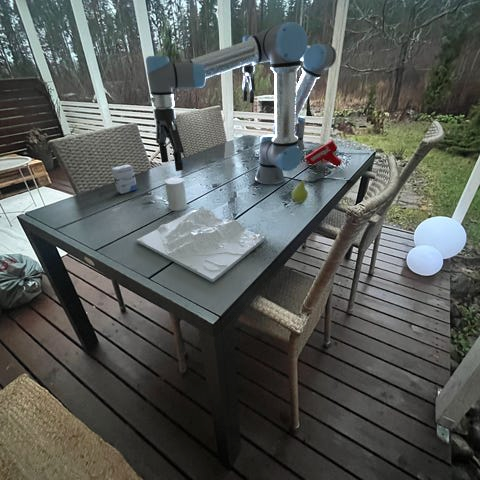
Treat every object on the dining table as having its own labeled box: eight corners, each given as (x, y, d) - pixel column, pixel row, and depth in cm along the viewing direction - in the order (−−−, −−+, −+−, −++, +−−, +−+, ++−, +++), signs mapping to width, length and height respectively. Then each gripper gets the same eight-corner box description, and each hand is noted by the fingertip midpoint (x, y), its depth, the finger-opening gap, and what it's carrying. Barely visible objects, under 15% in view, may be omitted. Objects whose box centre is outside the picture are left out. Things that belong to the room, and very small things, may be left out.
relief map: (212, 282, 77) (211, 268, 74) (137, 242, 94) (134, 229, 91) (264, 240, 95) (265, 227, 92) (193, 213, 113) (192, 201, 110)
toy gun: (345, 161, 161) (332, 139, 157) (345, 163, 157) (332, 140, 153) (317, 176, 171) (305, 156, 167) (317, 178, 167) (304, 158, 163)
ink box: (133, 186, 138) (127, 163, 132) (137, 189, 135) (132, 165, 129) (116, 191, 133) (110, 167, 127) (121, 194, 130) (114, 170, 124)
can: (166, 206, 119) (162, 179, 113) (182, 201, 123) (179, 176, 116) (173, 212, 114) (168, 185, 107) (190, 208, 117) (186, 181, 111)
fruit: (288, 200, 123) (290, 174, 116) (302, 197, 125) (305, 172, 119) (296, 206, 118) (299, 179, 111) (310, 203, 120) (314, 177, 114)
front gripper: (141, 105, 104) (151, 160, 115) (168, 112, 87) (176, 176, 98) (160, 103, 108) (168, 157, 119) (189, 110, 91) (195, 172, 102)
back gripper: (237, 65, 184) (237, 100, 195) (249, 65, 164) (249, 104, 175) (247, 65, 186) (247, 100, 197) (261, 65, 166) (259, 103, 177)
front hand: (172, 166), depth 109 cm, fingers open, 13 cm apart
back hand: (248, 102), depth 186 cm, fingers open, 13 cm apart
